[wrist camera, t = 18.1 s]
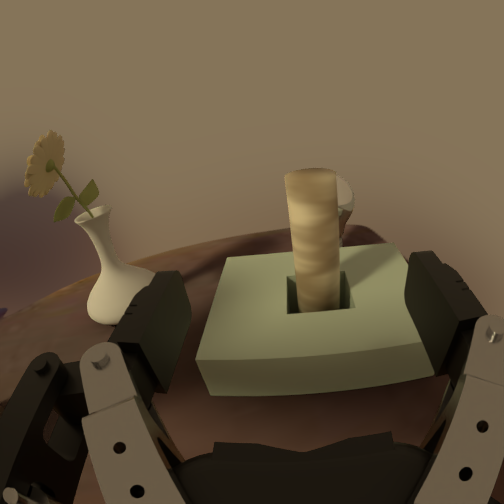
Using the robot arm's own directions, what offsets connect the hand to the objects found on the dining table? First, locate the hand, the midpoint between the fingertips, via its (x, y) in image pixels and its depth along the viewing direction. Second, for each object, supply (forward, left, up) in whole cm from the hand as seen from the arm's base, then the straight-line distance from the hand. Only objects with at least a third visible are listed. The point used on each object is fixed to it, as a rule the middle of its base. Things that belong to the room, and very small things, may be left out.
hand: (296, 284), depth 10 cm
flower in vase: (-23, +20, -16) cm, 34 cm away
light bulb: (+5, +30, -16) cm, 34 cm away
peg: (+2, +15, -16) cm, 22 cm away
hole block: (+2, +15, -16) cm, 22 cm away
